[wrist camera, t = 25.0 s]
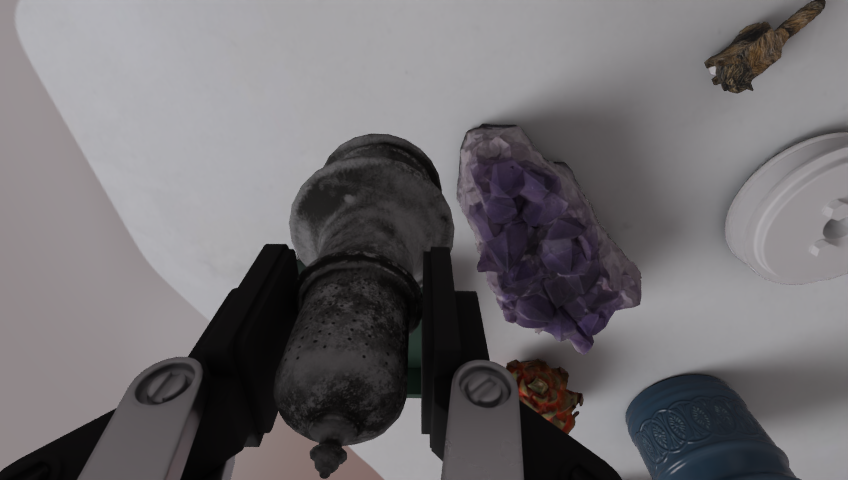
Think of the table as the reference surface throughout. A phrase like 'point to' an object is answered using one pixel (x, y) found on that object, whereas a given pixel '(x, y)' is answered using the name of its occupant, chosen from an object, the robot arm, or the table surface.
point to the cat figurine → (757, 50)
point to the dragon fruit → (546, 391)
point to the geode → (540, 239)
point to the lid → (795, 214)
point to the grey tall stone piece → (358, 291)
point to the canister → (702, 433)
